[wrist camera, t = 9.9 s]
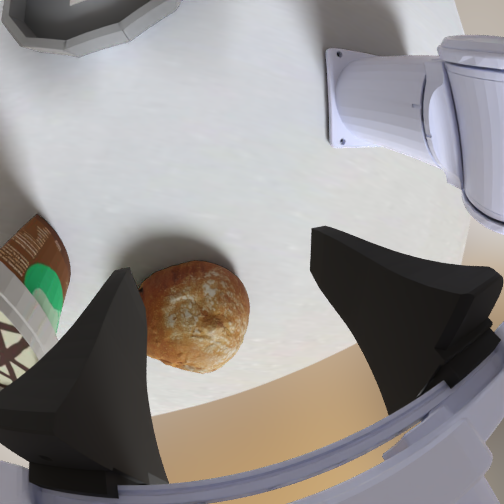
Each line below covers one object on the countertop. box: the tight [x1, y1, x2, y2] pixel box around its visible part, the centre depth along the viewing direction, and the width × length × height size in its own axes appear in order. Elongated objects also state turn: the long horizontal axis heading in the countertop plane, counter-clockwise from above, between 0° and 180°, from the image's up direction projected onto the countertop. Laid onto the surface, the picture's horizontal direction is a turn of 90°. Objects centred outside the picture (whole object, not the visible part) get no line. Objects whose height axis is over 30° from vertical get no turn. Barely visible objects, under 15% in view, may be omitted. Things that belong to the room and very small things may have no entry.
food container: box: [0, 214, 71, 391], centre depth 14 cm, size 12×6×10 cm, turn 138°
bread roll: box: [138, 261, 250, 374], centre depth 22 cm, size 10×10×8 cm
